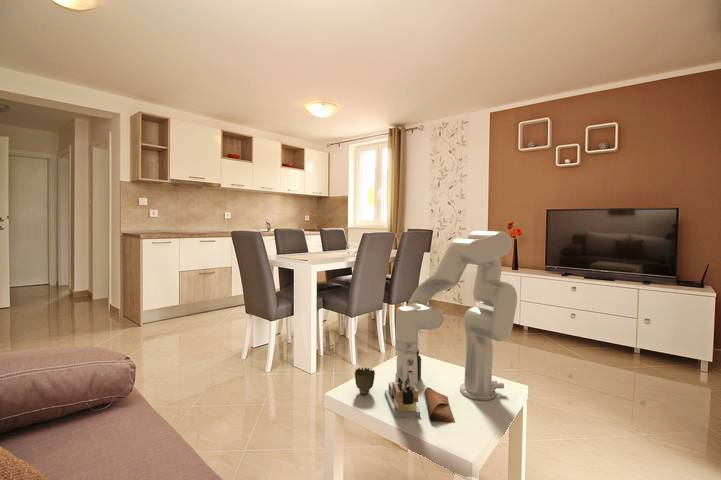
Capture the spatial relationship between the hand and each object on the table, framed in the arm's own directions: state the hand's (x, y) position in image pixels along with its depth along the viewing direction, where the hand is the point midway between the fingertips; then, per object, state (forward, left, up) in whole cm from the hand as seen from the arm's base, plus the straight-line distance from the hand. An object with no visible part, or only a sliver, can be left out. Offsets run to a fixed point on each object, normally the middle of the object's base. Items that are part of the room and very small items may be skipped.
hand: (405, 397), depth 117 cm
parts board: (0, -5, -5) cm, 6 cm away
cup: (+11, -14, -5) cm, 19 cm away
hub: (0, 0, -3) cm, 3 cm away
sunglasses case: (-12, -1, -5) cm, 13 cm away
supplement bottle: (-10, -25, -5) cm, 27 cm away
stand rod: (0, -9, -3) cm, 10 cm away
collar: (0, 0, 0) cm, 0 cm away
